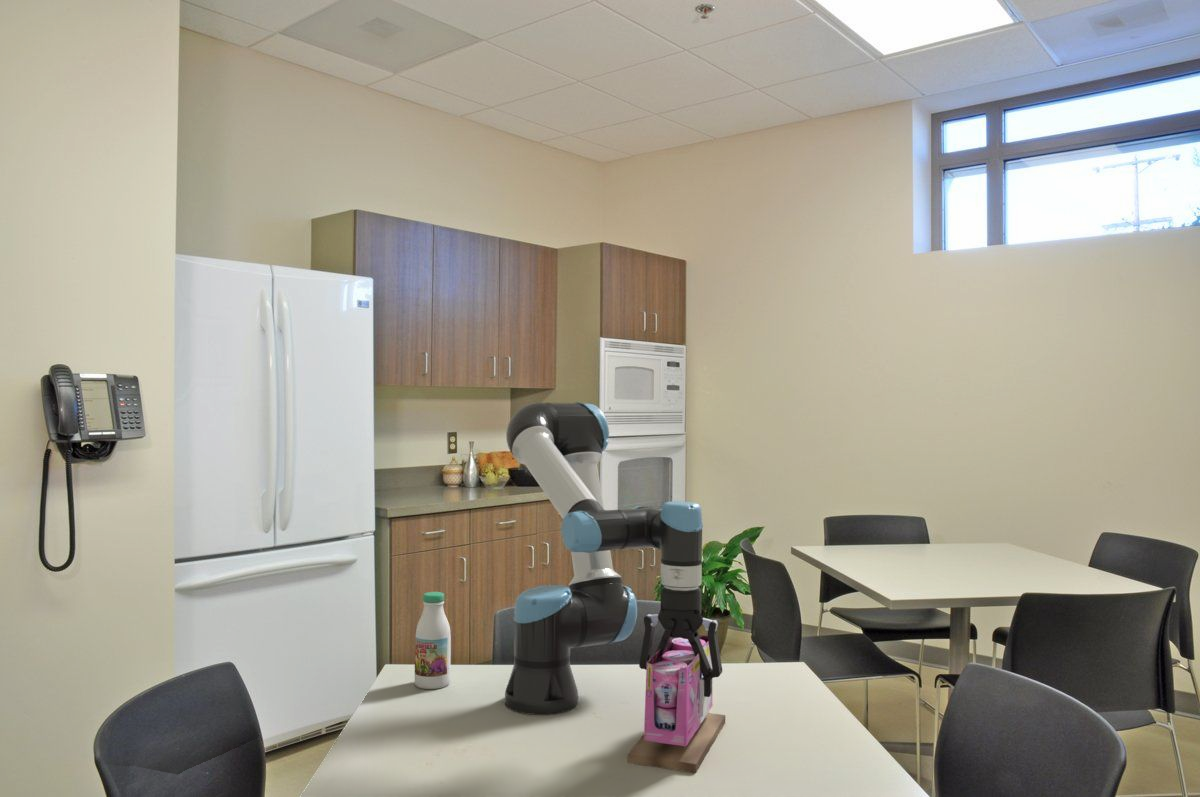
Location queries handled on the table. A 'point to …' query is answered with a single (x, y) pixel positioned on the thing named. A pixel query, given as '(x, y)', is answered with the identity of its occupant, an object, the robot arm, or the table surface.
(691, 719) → the gum box
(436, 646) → the milk bottle
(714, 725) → the walnut board
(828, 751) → the table surface
